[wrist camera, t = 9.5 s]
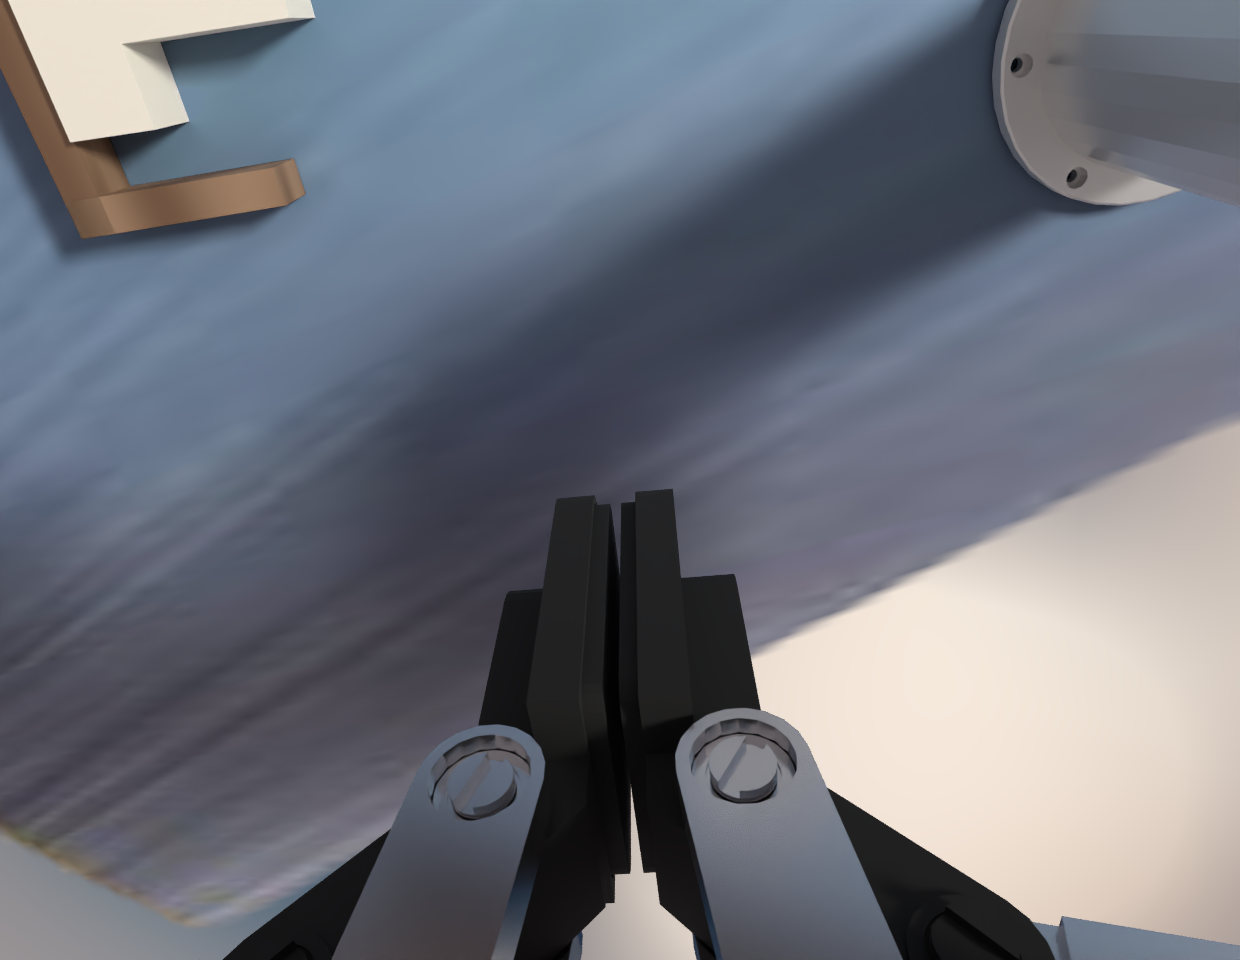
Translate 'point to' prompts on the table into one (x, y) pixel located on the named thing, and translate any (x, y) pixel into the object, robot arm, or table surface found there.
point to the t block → (127, 54)
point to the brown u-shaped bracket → (98, 176)
